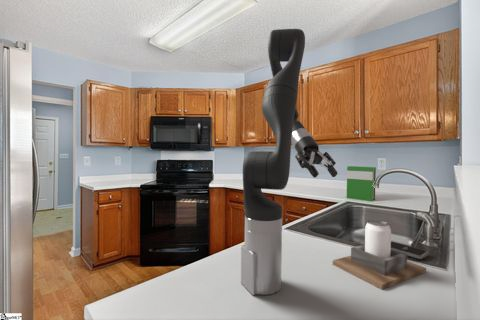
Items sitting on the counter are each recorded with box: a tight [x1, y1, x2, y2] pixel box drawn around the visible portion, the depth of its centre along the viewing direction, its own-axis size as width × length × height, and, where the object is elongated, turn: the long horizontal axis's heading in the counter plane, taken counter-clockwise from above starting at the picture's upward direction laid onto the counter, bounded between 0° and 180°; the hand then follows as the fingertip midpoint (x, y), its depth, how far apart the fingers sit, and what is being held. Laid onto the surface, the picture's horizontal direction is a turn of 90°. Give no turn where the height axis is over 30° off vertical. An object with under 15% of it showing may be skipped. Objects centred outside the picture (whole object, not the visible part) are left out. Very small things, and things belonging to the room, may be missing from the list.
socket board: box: [332, 244, 427, 290], centre depth 70 cm, size 20×15×5 cm
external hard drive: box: [391, 241, 429, 261], centre depth 82 cm, size 7×11×2 cm, turn 37°
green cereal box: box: [346, 166, 377, 202], centre depth 181 cm, size 18×7×24 cm, turn 47°
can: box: [364, 219, 392, 259], centre depth 70 cm, size 6×6×12 cm
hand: (326, 175), depth 81 cm, fingers open, 8 cm apart
